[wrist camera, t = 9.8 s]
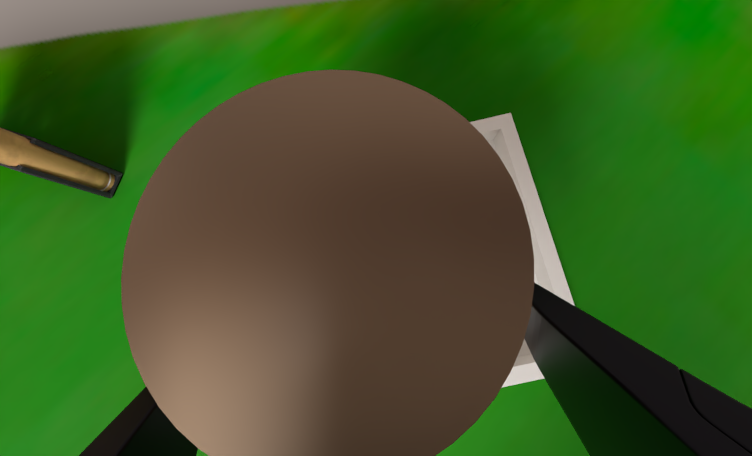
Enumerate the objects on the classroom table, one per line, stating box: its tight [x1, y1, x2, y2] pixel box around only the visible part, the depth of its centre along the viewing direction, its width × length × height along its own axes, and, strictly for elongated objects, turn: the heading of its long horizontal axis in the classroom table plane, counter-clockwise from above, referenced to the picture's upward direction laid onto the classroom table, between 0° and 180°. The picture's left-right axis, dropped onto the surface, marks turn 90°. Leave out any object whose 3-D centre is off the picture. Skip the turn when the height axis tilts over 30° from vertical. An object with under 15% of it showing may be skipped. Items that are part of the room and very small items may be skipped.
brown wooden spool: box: [121, 70, 534, 456], centre depth 11 cm, size 7×7×13 cm
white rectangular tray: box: [470, 113, 575, 387], centre depth 17 cm, size 20×14×2 cm
